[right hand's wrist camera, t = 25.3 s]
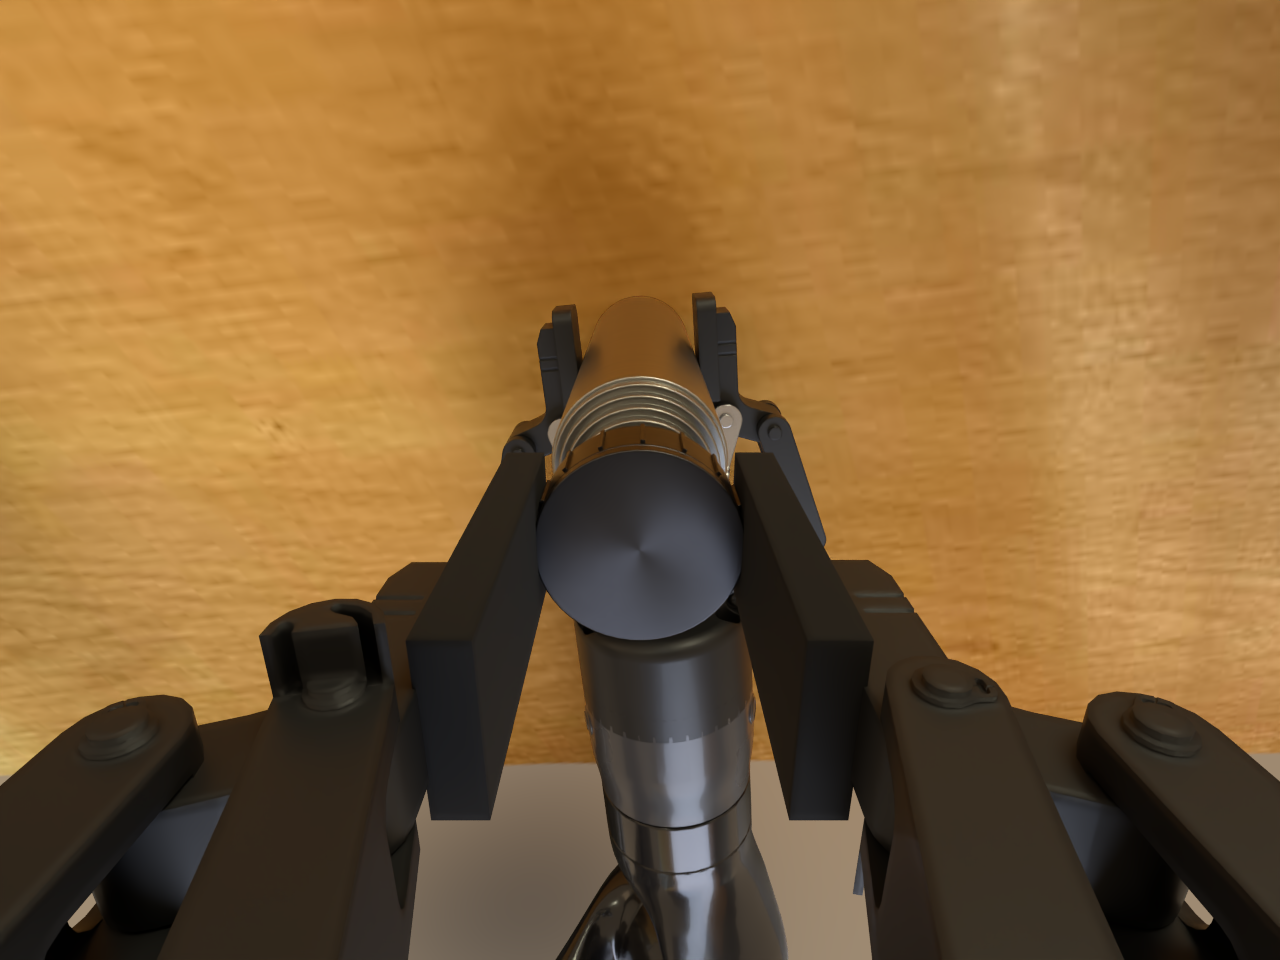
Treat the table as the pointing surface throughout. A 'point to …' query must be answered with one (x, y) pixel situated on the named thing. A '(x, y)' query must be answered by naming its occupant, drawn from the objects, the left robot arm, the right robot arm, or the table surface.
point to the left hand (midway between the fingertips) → (634, 303)
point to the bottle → (640, 381)
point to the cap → (639, 534)
